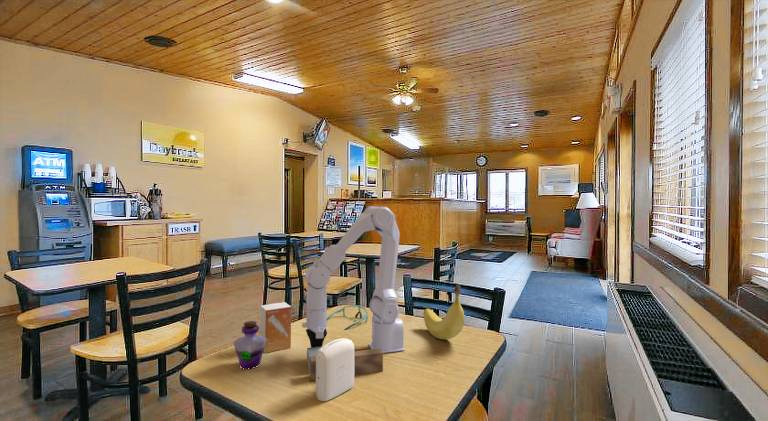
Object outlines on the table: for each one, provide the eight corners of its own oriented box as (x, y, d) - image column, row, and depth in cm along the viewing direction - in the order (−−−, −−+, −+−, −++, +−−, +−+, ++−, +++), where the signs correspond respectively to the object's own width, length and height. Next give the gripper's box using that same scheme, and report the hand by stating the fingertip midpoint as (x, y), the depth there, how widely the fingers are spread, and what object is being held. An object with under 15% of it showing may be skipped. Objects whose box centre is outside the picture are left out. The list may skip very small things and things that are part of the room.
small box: (265, 353, 112) (265, 310, 111) (259, 346, 117) (259, 305, 117) (291, 348, 116) (291, 306, 116) (284, 341, 122) (284, 301, 121)
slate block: (328, 359, 108) (328, 345, 108) (332, 370, 101) (332, 355, 101) (306, 362, 106) (307, 347, 106) (309, 372, 100) (309, 358, 100)
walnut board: (379, 366, 104) (379, 348, 104) (382, 371, 101) (382, 352, 101) (309, 375, 98) (309, 356, 98) (311, 380, 95) (311, 361, 95)
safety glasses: (374, 321, 143) (373, 308, 143) (347, 336, 132) (346, 322, 131) (347, 314, 152) (347, 302, 151) (320, 327, 140) (319, 314, 140)
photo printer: (325, 404, 85) (325, 349, 84) (312, 397, 87) (313, 344, 87) (357, 387, 92) (357, 337, 92) (344, 381, 95) (345, 333, 95)
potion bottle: (233, 374, 98) (233, 328, 98) (233, 361, 106) (233, 318, 106) (267, 369, 102) (267, 325, 101) (265, 356, 110) (265, 315, 109)
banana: (418, 328, 135) (419, 273, 135) (432, 326, 137) (433, 272, 137) (452, 352, 114) (453, 286, 114) (468, 349, 116) (469, 285, 116)
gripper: (300, 302, 114) (299, 346, 114) (305, 316, 100) (304, 367, 100) (323, 300, 116) (323, 344, 116) (331, 314, 102) (331, 363, 103)
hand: (316, 354), depth 108 cm, fingers closed
